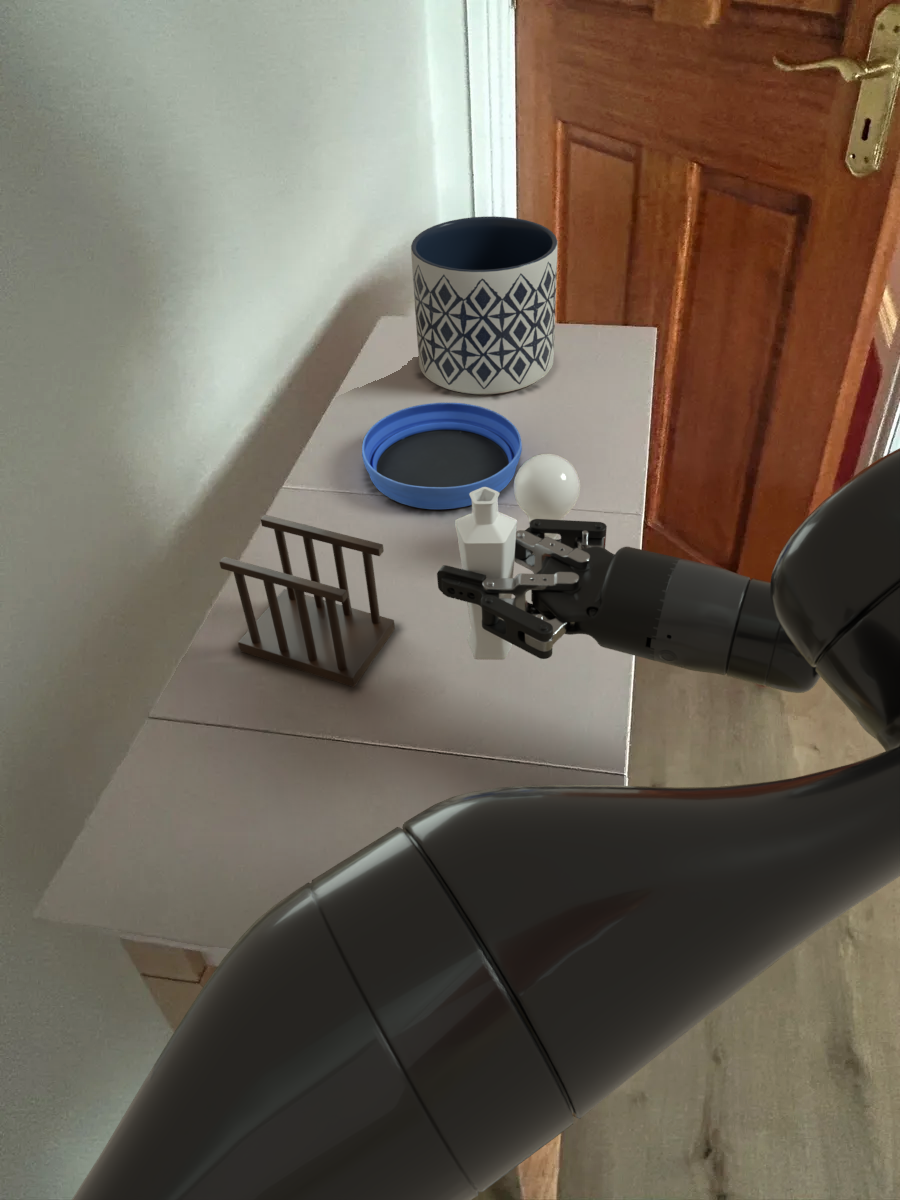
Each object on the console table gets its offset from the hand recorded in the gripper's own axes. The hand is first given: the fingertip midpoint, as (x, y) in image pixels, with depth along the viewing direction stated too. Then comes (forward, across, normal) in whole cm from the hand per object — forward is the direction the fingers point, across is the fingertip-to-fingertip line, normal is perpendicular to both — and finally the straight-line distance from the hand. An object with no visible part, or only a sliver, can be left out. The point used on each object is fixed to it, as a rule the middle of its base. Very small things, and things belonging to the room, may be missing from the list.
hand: (454, 558), depth 70 cm
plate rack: (+15, 0, +14) cm, 20 cm away
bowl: (+16, -30, +14) cm, 37 cm away
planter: (+21, -55, +14) cm, 60 cm away
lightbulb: (0, -20, +14) cm, 25 cm away
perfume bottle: (-3, 0, +9) cm, 9 cm away
